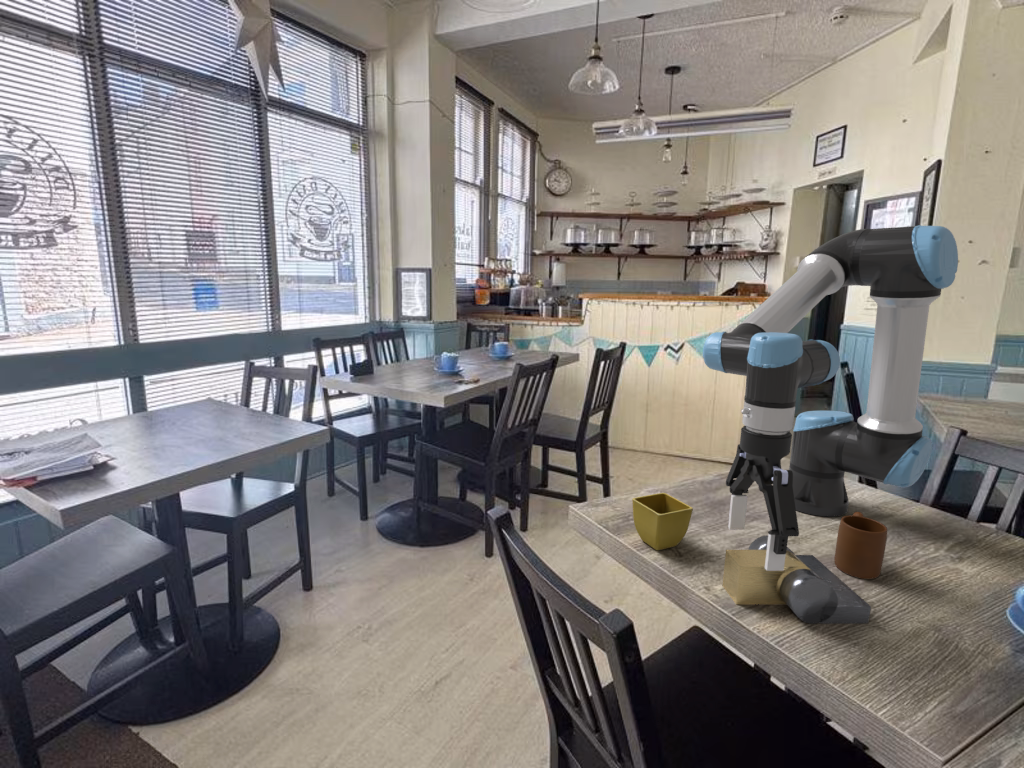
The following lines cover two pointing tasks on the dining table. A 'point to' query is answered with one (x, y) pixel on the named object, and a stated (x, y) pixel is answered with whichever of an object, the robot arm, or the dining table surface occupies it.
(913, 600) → the dining table surface
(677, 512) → the flower pot
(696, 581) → the dining table surface
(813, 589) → the hinge base leaf
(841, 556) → the mug
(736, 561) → the brass curved block
